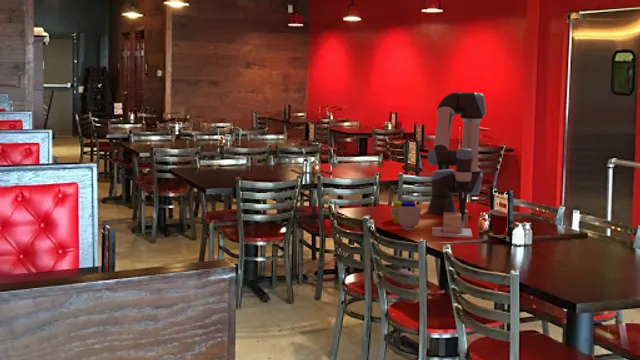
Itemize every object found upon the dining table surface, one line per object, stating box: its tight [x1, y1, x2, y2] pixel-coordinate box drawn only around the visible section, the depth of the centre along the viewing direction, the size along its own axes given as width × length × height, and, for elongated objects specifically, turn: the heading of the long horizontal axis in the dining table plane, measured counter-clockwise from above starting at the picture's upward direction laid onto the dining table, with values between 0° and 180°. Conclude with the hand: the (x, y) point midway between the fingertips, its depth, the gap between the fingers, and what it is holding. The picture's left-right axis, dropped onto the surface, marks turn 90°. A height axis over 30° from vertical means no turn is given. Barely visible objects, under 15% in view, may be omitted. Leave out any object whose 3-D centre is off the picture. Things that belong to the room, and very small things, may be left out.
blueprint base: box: [431, 226, 473, 239], centre depth 377 cm, size 18×18×1 cm
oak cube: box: [442, 212, 461, 233], centre depth 376 cm, size 8×8×8 cm
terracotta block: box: [455, 208, 469, 229], centre depth 395 cm, size 6×6×8 cm
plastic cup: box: [488, 209, 514, 235], centre depth 369 cm, size 11×11×12 cm
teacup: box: [390, 206, 423, 231], centre depth 385 cm, size 12×15×10 cm
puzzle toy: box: [392, 200, 416, 224], centre depth 405 cm, size 10×10×10 cm
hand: (461, 226), depth 395 cm, fingers open, 9 cm apart
